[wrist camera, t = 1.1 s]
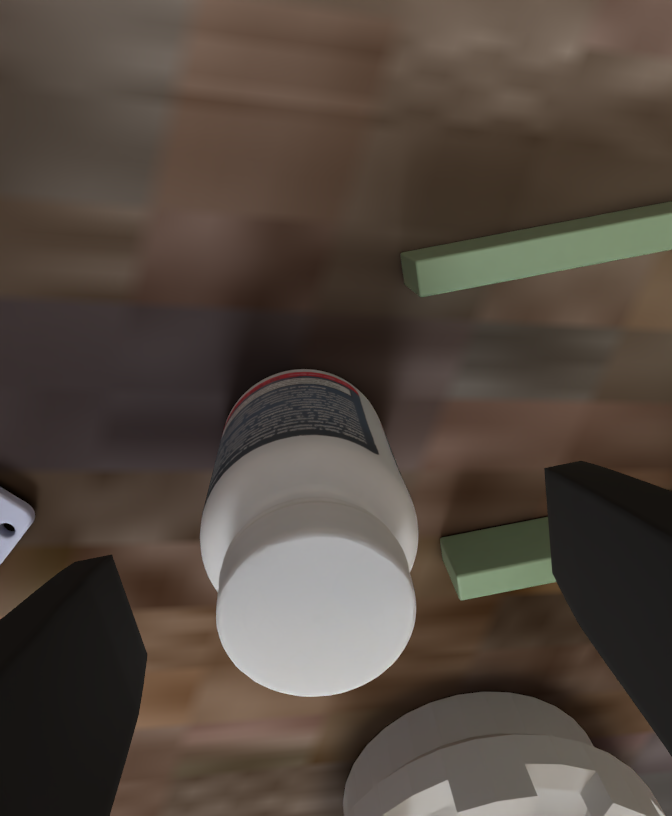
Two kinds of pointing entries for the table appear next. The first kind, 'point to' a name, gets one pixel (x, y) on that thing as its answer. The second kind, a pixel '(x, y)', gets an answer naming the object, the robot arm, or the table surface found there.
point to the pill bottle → (309, 537)
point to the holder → (503, 261)
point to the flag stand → (491, 764)
